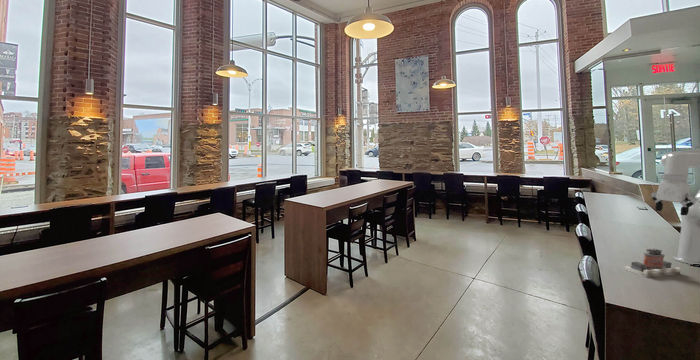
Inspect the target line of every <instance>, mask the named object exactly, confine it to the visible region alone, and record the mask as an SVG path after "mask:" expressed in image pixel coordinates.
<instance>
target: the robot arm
mask: <svg viewBox="0 0 700 360" xmlns="http://www.w3.org/2000/svg"><path fill="white" fill-rule="evenodd" d="M660 162H661V165H662V166H664V172H663V174H662V175H661V176H660V178H663V180H660V182H659V185H658V186H657V187H658V188H657V191H655V192H652V193H650V196H651V199H652V200H653V201H654V203H655V211H656V212H659V211H660V212H661V211H663V208H664V203H663V202H664V201H666V202H672V203H679V204H681V207H680V212H679V213H680V217H681V218H680V219H681V224H680V225H681V226H680V234H679V242H678V248H677V254H675V255H673V256H672V259H673V260H675V261H677V262H680V263H684V264H689V265H693V264H700V189H699V190H698V191H697V192H696V194H695V196H692V195H691V194H690V184H689V183H690V182H688V177H689V176H688V175H689V169H697V168H698V169H699V168H700V149H688V150H687V149H686V150H676V151H669V152H666V153H664V154H663V155H662V156H661V159H660Z"/></svg>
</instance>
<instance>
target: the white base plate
mask: <svg viewBox="0 0 700 360" xmlns="http://www.w3.org/2000/svg"><path fill="white" fill-rule="evenodd" d="M662 268H663V269H651V270H647V269H646V265H645V264H643V263H642V262H639V261H632V262H631V265H626V266H624V270H625V271H627V272H628V271H629V272H630V271H631V273H633V272H634V274H636V273H637V274H636V275H638V274H639V275H638V276H641V277H643V278H644V277H645V278H652V277H653V278H654V277H667V276H676V275H681V272H682V271H681V270H682V268H681V267H678V266H677V267H672V262H670V261H666V260H664V259H663V266H662Z"/></svg>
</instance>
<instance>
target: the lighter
mask: <svg viewBox="0 0 700 360" xmlns="http://www.w3.org/2000/svg"><path fill="white" fill-rule="evenodd" d="M662 251H663V250H661V249H658V248H646V252H644V253H643V256H644V257H643V263H642V264H645V265H646V269H647V270H651V269H663V268H662V266H663V260H664V258H665V254H664V253H662Z"/></svg>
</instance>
